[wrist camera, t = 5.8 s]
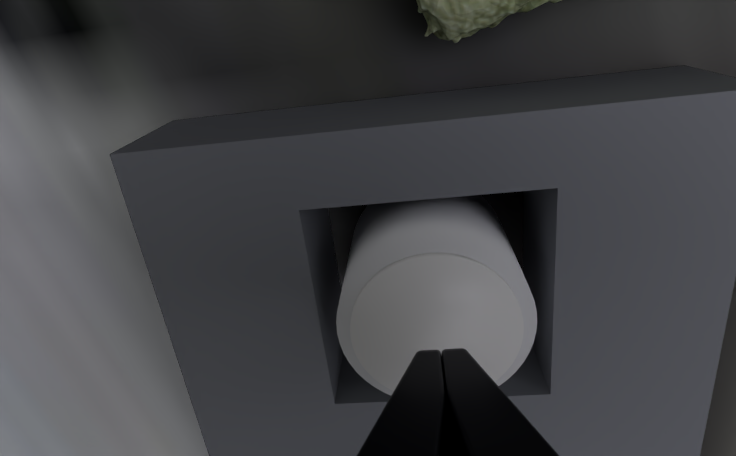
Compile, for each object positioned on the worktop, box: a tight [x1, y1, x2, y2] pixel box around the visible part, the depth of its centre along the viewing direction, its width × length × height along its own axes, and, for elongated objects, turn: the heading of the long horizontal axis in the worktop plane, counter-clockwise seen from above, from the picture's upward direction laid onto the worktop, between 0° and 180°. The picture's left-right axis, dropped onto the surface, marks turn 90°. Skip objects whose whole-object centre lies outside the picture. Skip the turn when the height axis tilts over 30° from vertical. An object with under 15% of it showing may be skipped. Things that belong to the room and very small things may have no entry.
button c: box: [336, 195, 537, 395], centre depth 12 cm, size 4×4×4 cm
